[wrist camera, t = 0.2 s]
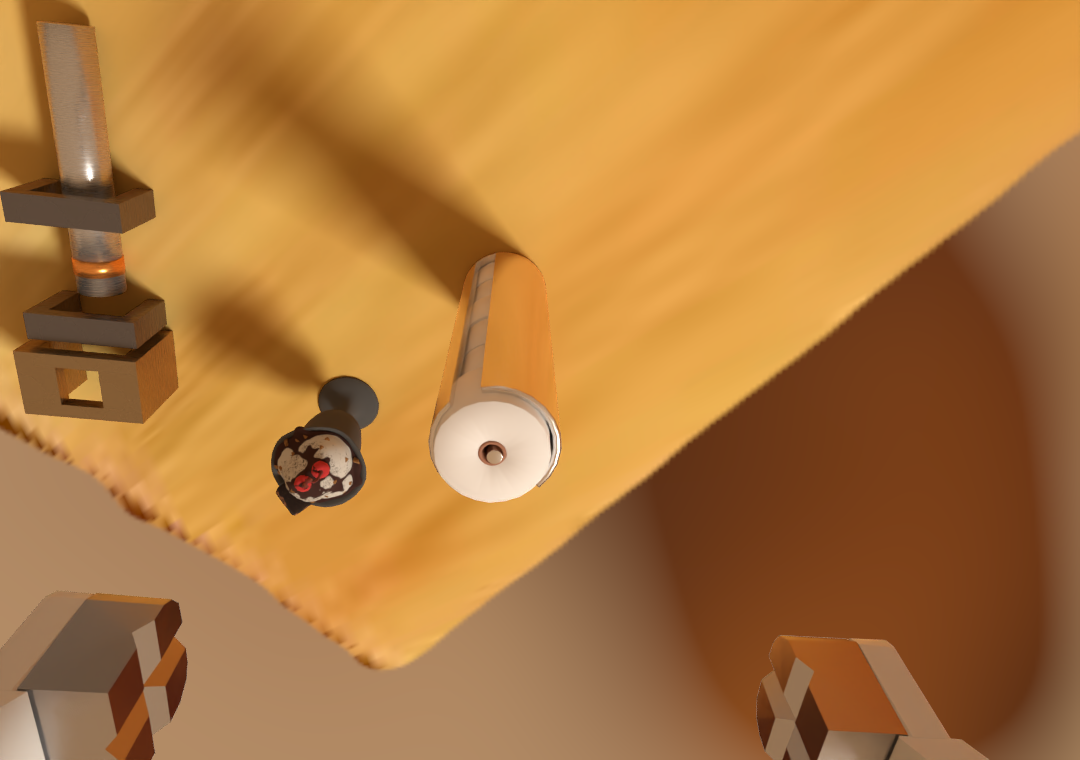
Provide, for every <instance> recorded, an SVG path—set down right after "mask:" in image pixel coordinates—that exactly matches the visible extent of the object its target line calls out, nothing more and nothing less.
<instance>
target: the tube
mask: <svg viewBox="0 0 1080 760" xmlns="http://www.w3.org/2000/svg"><path fill="white" fill-rule="evenodd" d="M36 25H37V31H38V38H39V44H40V51H41V57H42V64H43V70H44V77H45V83H46V90H47V96H48V103H49V109H50V116H51V122H52V129H53V135H54V142H55V148H56V155H57V161H58V168H59V174H60V181H61V187H62V194H64V195H74V196H83V197H92V198H102V199H109V198H112V197H115V189H114V181H113V173H112V165H111V157H110V149H109V141H108V133H107V125H106V117H105V109H104V100H103V92H102V84H101V76H100V68H99V60H98V52H97V44H96V36H95V28H94V27H93V26H86V25H79V24H70V23H60V22H49V21H36ZM68 233H69V240H70V246H71V253H72V256H71V258H72V264H73V271H74V274H75V279H76V285H77V292H78V293H79V294H81V295H84V296H89V297H109V296H115V295H119V294H122V293H124V292H125V291H126V290H127V286H126V278H125V263H124V255H123V254H122V245H121V237H120V233H111V232H102V231H92V230H82V229H73V228H68Z"/></svg>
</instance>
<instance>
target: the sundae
mask: <svg viewBox="0 0 1080 760" xmlns="http://www.w3.org/2000/svg"><path fill="white" fill-rule="evenodd" d="M319 407H320V410H321V413H319V414H317V415H316V416H315V417H314V418H312V419H311V420H310V421H309V422H308V423H307V424H306V425H305V427H300V426H299V427H297V428H296V429H295V430H294V431H292V432H290V433H287V434H286V435H284V436H282V437H281V438H280V439H279V440H278V441H277V443H276V445H275V447H274V450H273V453H272V459H271V468H272V472H273V475H274V478H275V480H276V482H277V483H278V485H279V487H278V489H277V491H276V494H277V495H278V497H279V498H280V500H281V501H282V503H283V504H284V505H285V506H286V507H287V509H288V510H289V511H290V513H291V514H292V515H297V514H298V513H300V512H301V511H303V510H304V509H306V508H307V507H308V506H309V505H315V506H320V507H332V506H336V505H340V504H343V503H345V502H346V501H348V500H350V499H351V498H352V497H354V496H355V495H356V494H357V493H358V492H359V491H360V490H361V488H362V486H363V485H364V483H365V480H366V466H365V463H364V460H363V457H362V455H361V452H360V449H361V430H360V429H362V428H364V427H366V426H368V425H369V424H371V423H372V422H373V420H374V419H375V418H376V416H377V414H378V408H379V403H378V399H377V397H376V394H375V392H374V391H373V390H372V389H371V388H370V387H369V386H368V385H367V384H366V383H364V382H363V381H360V380H358V379H355V378H350V377H342V378H337V379H333V380H332V381H330V382H328V383H327V384H326V385H325V386H324V387H323V389H322V390H321V392H320V394H319Z"/></svg>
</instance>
